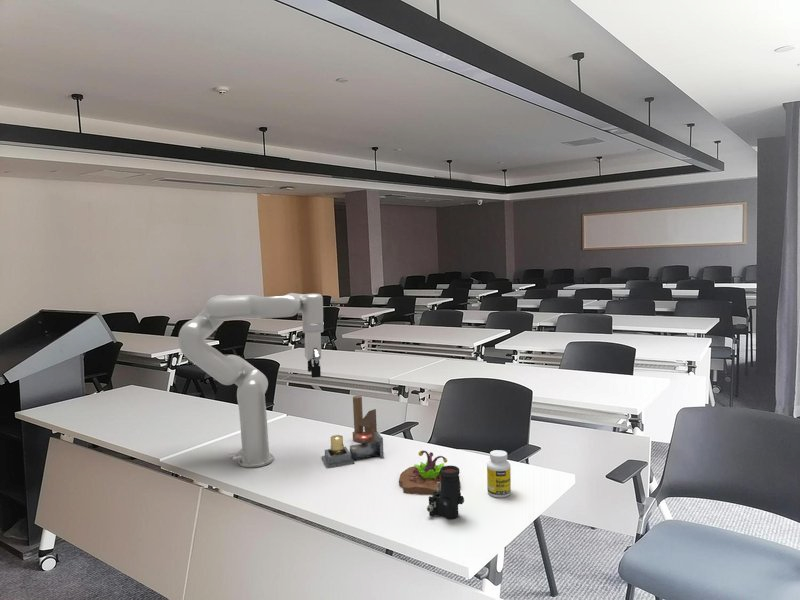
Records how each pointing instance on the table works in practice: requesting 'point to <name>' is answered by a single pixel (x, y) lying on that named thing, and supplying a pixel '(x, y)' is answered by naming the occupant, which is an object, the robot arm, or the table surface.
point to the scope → (446, 494)
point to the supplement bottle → (498, 474)
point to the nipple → (337, 445)
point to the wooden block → (363, 420)
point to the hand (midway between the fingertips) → (314, 374)
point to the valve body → (356, 451)
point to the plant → (422, 476)
